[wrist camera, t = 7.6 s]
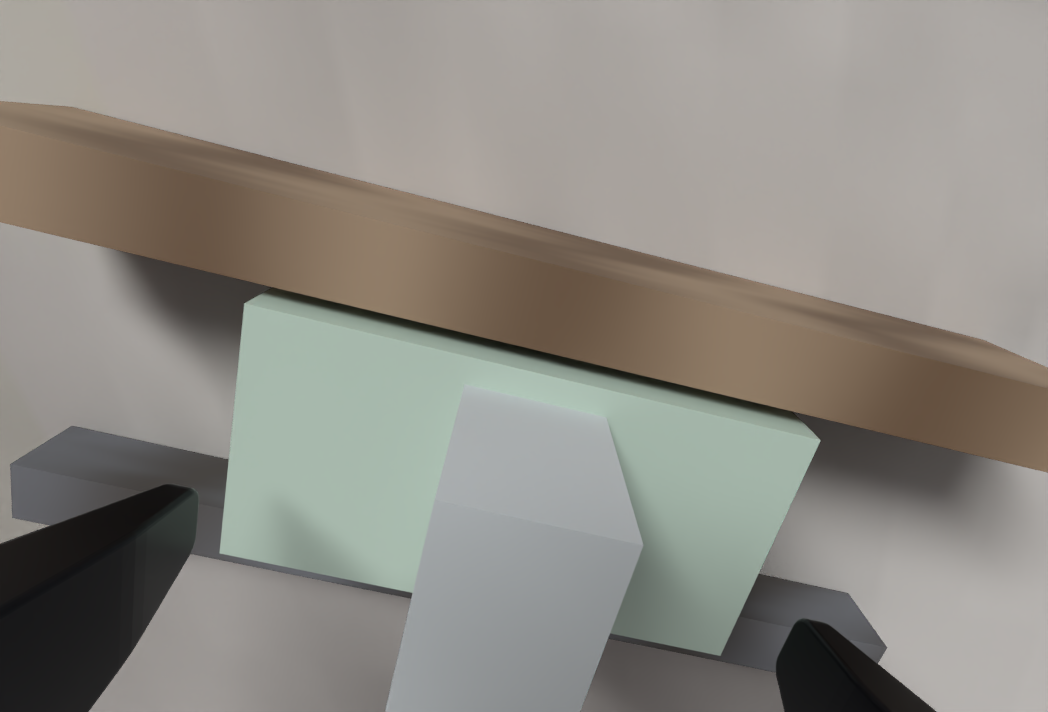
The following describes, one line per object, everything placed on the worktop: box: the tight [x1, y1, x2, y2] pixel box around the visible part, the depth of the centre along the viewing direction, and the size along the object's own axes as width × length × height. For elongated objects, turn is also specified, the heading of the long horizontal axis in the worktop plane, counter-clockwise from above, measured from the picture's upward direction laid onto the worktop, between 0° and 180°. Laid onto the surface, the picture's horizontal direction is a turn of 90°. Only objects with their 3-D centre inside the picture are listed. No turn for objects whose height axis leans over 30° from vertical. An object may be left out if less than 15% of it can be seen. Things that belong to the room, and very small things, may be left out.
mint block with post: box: [220, 287, 821, 712], centre depth 12 cm, size 10×5×8 cm, turn 76°
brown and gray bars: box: [0, 101, 1048, 672], centre depth 13 cm, size 22×10×4 cm, turn 76°
